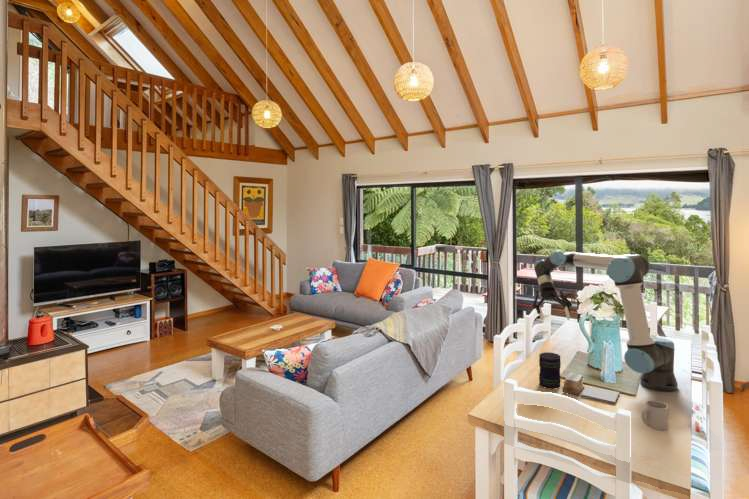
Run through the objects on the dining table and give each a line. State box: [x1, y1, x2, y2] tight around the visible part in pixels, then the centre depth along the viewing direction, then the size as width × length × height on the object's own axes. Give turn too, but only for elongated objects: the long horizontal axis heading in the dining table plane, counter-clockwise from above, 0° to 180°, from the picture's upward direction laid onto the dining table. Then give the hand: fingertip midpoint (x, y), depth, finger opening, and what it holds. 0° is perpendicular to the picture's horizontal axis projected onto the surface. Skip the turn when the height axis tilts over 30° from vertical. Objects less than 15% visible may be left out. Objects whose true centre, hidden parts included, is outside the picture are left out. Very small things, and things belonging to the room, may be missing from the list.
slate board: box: [580, 385, 620, 405], centre depth 199 cm, size 14×12×1 cm
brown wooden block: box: [561, 372, 585, 397], centre depth 205 cm, size 7×12×6 cm, turn 142°
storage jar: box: [538, 352, 562, 390], centre depth 212 cm, size 10×10×15 cm
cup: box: [640, 400, 669, 431], centre depth 170 cm, size 7×10×9 cm
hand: (555, 318), depth 224 cm, fingers open, 13 cm apart
